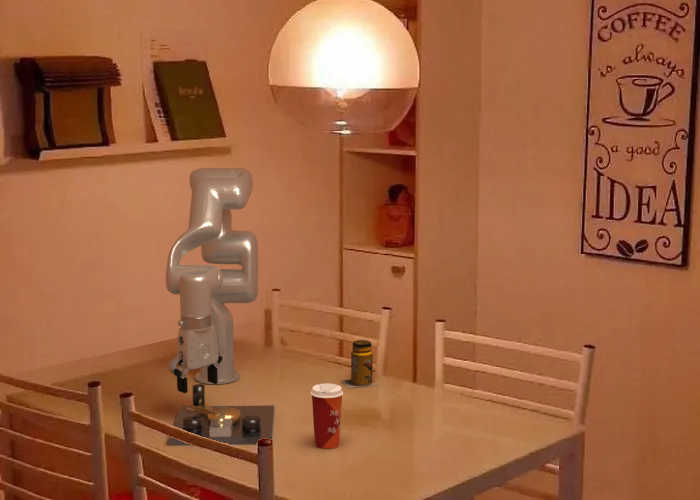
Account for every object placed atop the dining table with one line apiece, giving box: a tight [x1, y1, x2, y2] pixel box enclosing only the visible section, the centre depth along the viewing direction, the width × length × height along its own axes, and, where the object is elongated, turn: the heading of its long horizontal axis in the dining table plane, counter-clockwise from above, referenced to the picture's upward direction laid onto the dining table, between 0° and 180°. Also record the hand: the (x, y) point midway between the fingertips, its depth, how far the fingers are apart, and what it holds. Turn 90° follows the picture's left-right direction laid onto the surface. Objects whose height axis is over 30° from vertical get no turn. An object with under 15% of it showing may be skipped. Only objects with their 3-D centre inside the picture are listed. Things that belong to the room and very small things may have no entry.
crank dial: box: [191, 383, 240, 424], centre depth 258 cm, size 16×8×7 cm, turn 46°
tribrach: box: [168, 404, 275, 446], centre depth 256 cm, size 24×24×6 cm
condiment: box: [340, 339, 378, 389], centre depth 292 cm, size 7×8×12 cm
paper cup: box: [310, 383, 344, 450], centre depth 243 cm, size 8×8×14 cm
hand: (197, 387), depth 262 cm, fingers open, 9 cm apart
